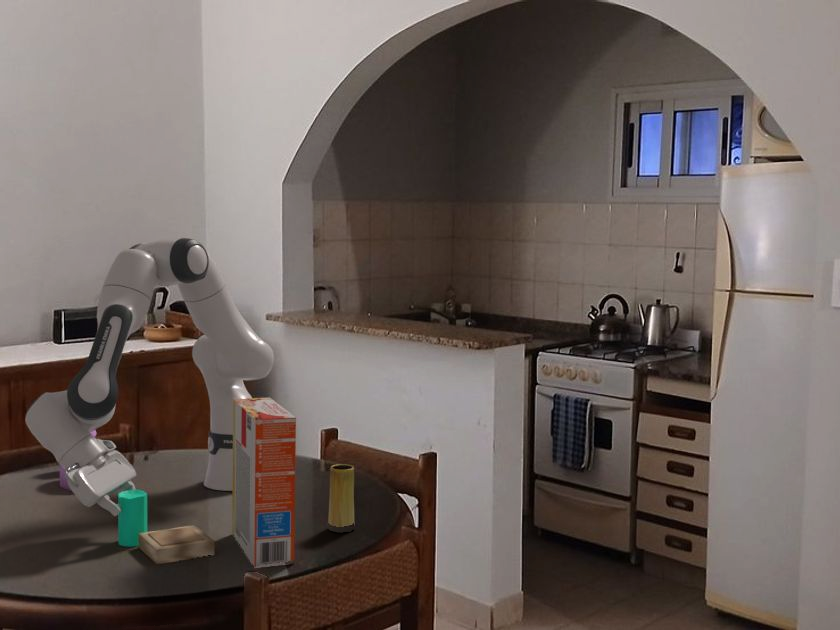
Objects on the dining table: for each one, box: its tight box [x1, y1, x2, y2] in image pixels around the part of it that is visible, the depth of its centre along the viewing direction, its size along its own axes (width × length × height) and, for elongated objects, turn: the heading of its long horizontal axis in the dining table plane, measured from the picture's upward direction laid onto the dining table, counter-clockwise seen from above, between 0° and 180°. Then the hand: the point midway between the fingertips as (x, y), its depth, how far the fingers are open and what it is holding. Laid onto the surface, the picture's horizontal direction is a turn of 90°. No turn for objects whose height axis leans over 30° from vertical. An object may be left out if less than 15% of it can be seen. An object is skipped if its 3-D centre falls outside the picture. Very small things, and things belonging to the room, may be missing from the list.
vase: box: [327, 463, 355, 527], centre depth 227 cm, size 6×6×14 cm
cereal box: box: [231, 397, 297, 567], centre depth 211 cm, size 23×8×30 cm, turn 21°
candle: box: [117, 487, 148, 548], centre depth 215 cm, size 6×6×12 cm
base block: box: [138, 524, 215, 565], centre depth 210 cm, size 12×12×3 cm
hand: (128, 507), depth 215 cm, fingers open, 8 cm apart
